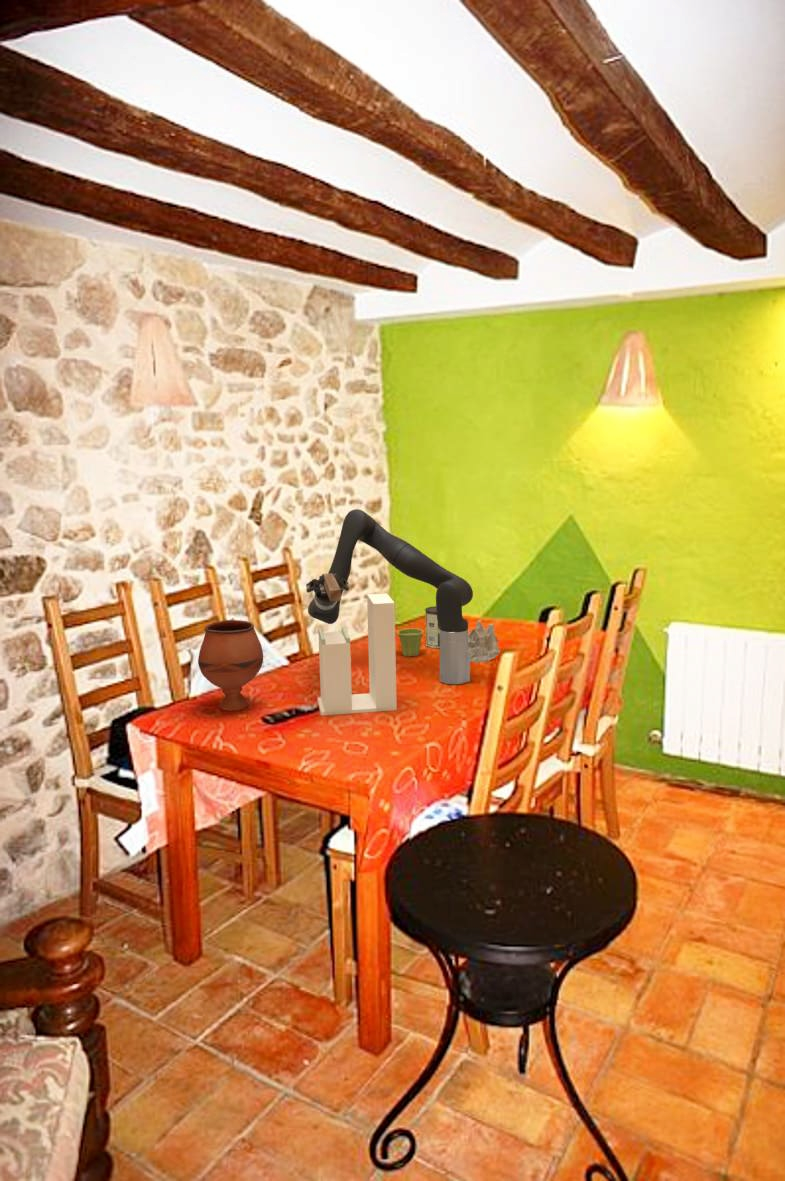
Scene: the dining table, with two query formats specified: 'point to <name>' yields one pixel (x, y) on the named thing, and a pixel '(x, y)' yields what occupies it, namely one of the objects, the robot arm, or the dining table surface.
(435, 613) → the coffee can
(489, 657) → the ceramic cottage
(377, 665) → the stand
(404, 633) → the plant pot
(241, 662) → the goblet
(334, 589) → the walnut baton
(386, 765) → the dining table surface
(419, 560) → the robot arm
